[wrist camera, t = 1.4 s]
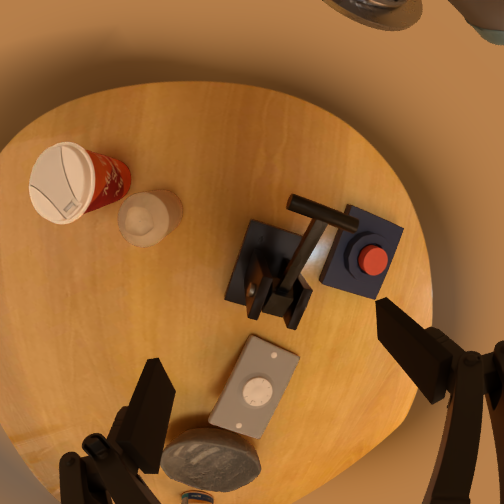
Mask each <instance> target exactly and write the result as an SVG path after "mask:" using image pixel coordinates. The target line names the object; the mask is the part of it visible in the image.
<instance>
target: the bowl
mask: <svg viewBox="0 0 504 504" xmlns="http://www.w3.org/2000/svg"><path fill="white" fill-rule="evenodd" d="M160 466H161V468H162V469H163V471H164V472H165V473H166V474H167V475H168V476H169V477H170V478H171V479H174V480H176V481H178V482H181V483H184V484H186V485H188V486H191V487H194V488H198V489H201V490H208V491H215V492H218V491H220V492H230V491H233V490H236V489H238V488H240V487H242V486H244V485H247V484H249V483H250V482H252V481H253V480H254V479H255V478H257V477H258V475H259V474H260V472H261V465H260V461H259V457H258V455H257V452H256V450H255V448H254V447H253V446H252V445H251V444H250V443H249V442H248V441H247V440H245V439H244V438H242V437H241V436H240V435H238V434H236V433H234V432H231V431H227V430H223V429H217V428H196V429H190V430H187V431H185V432H184V433H182V434H181V435H179V436H178V437H176V438H175V439H174V440H173V441H171V442H170V443H169V444H168V445H167V446H166V447H165V449H164V450H163V452H162V457H161V462H160Z"/></svg>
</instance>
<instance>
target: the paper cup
mask: <svg viewBox="0 0 504 504" xmlns="http://www.w3.org/2000/svg"><path fill="white" fill-rule="evenodd" d="M130 185H131V174H130V171H129V169H128V167H127V166H126V165H125V164H124V163H123V162H121V161H119V160H116V159H114V158H111V157H108V156H104V155H101V154H98V153H95V152H91V151H88V150H85V149H84V148H82V147H81V146H80V145H78V144H76V143H73V142H61V143H58V144H55V145H53V146H51V147H49V148H47V149H46V150H45V151H43V152H42V154H41V155H40V156H39V157H38V159H37V161H36V163H35V165H34V166H33V169H32V172H31V176H30V182H29V193H30V198H31V201H32V204H33V206H34V208H35V209H36V211H37V212H38V213H39V214H40V215H41V216H42V217H43V218H45V219H47V220H49V221H51V222H53V223H57V224H68V223H71V222H73V221H75V220H77V219H78V218H79V217H80V216H82V214H85V213H87V212H90V211H93V210H96V209H99V208H101V207H103V206H106V205H108V204H110V203H113V202H115V201H118V200H120V199H121V198H123V197H124V196H125V195H126V193H127V192H128V190H129V188H130Z"/></svg>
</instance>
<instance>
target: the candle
mask: <svg viewBox="0 0 504 504" xmlns="http://www.w3.org/2000/svg"><path fill="white" fill-rule="evenodd" d="M182 214H183V208H182V204H181V202H180V200H179V198H178V197H177V196H176V195H175V194H173V193H172V192H170V191H167V190H155V191H148V192H141V193H136V194H133V195H131V196H130V197H128V198H127V199H126V200H125V201H124V202H123V204H122V205H121V207H120V209H119V213H118V226H119V229H120V232H121V234H122V235H123V237H124V238H125V239H126V240H127V241H128V242H129V243H131V244H132V245H135V246H137V247H150V246H153V245H155V244H157V243H158V242H160V241H161V240H162V239H163V238H164V237H165V236H167V235H168V234H169V233H170V232H171V231H173V230H174V229H175V228H176V227H177V226H178V224H179V223H180V221H181V219H182Z"/></svg>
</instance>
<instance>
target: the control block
mask: <svg viewBox="0 0 504 504" xmlns="http://www.w3.org/2000/svg"><path fill="white" fill-rule="evenodd" d="M344 213H345V214H347V215H350V216H352V217H355V218H357V219H359V227H358V229H357V231H356V232H355V233H354V234H352V233H350V232H347V231H344V230H342V229H338V232H337V234H336V237H335V240H334V242H333V245H332V248H331V250H330V253H329V255H328V258H327V260H326V263H325V265H324V268H323V270H322V273H321V275H320V278H319V281H320V282H321V283H322V284H324V285H327V286H330V287H334V288H337V289H340V290H344V291H347V292H350V293H354V294H357V295H361V296H364V297H367V298H371V299H374V300H375V299H376V297H377V295H378V292H379V290H380V288H381V286H382V283H383V281H384V279H385V276H386V274H387V271H388V269H389V267H390V264H391V262H392V259H393V257H394V254H395V251H396V249H397V246H398V243H399V241H400V238H401V235H402V233H403V230H404V228H402V227H400V226H398V225H395V224H393V223H391V222H389V221H387V220H385V219H382V218H380V217H378V216H376V215H373V214H371V213H369V212H367V211H364V210H362V209H360V208H357V207H355V206H353V205H348V204H347V207H346V209H345V212H344ZM368 245H375V246H377V247H379V248H381V249H383V250H384V251H385V252H386V254H387V257H388V262H387V266H386V268H385V269H384V271H383V272H382V273H380V274H378V275H369V274H368V273H366V272H365V271H364V270H362V269H361V268H360V266H359V263H358V257H359V254H360V252H361V250H362V249H363V248H364V247H366V246H368Z"/></svg>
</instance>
